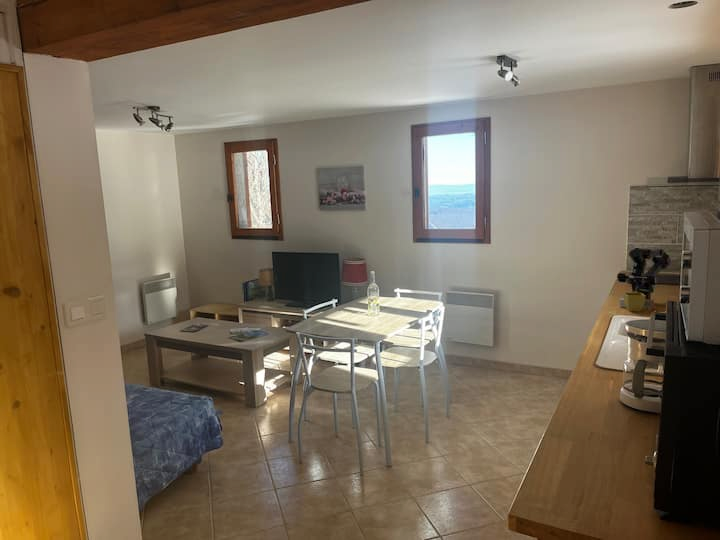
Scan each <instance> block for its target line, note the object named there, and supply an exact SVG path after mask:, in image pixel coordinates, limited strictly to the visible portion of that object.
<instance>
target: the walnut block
mask: <svg viewBox="0 0 720 540" xmlns="http://www.w3.org/2000/svg"><path fill="white" fill-rule="evenodd" d="M643 308H645V309H644V310H653V309H654V308H655V300H653V299H650V300H648V299H645V302H644V306H643ZM643 308H642V309H643Z"/></svg>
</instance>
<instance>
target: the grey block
mask: <svg viewBox="0 0 720 540" xmlns="http://www.w3.org/2000/svg"><path fill="white" fill-rule="evenodd" d="M619 301H620V302H619V308H620V307H624V308H623V309H627V308H626V306H625V303H624V297H621V298H620V299H619Z"/></svg>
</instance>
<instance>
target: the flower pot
mask: <svg viewBox="0 0 720 540" xmlns="http://www.w3.org/2000/svg"><path fill="white" fill-rule="evenodd" d="M645 297H646V296H645V295H644V294H642V293H637V292H629V291H628V292H627V291H625V292H623V298H624V303H625V306H626V308H625V309H627V310H628V311H629V312H641V310H643V306H644V302H645Z"/></svg>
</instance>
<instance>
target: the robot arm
mask: <svg viewBox="0 0 720 540" xmlns="http://www.w3.org/2000/svg"><path fill="white" fill-rule="evenodd" d="M628 256H629V258H630V259H631V262H632V263H633V266H632V271H631V274H630V275H627V273H626V272H618V273H617V275H616V277H617V282H620V283H626V282H628V284H629V285H631V290H632V293H642V294H644V295H645V296H646V297H645V299H648V300H651V297H652V295H651V294H652V293H654V291H655V288H654V286H657V275H658V274H659V273H660V272H661V270H665V269H667V268H669V267H670V265H671V261H672V260H671V258H670V255H669V254H668V253H666V252H665V250H664V249H663V248H656V247H655V248H653V249H652V248H640V247H634V248H633V249H631V250H630V251H629V252H628ZM647 260H651V261H652V263H653V264H652V265H651V267H650V268H649V269H648V270H647V271H646V267H647V265H648V264H647ZM645 271H646V273H645Z"/></svg>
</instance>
